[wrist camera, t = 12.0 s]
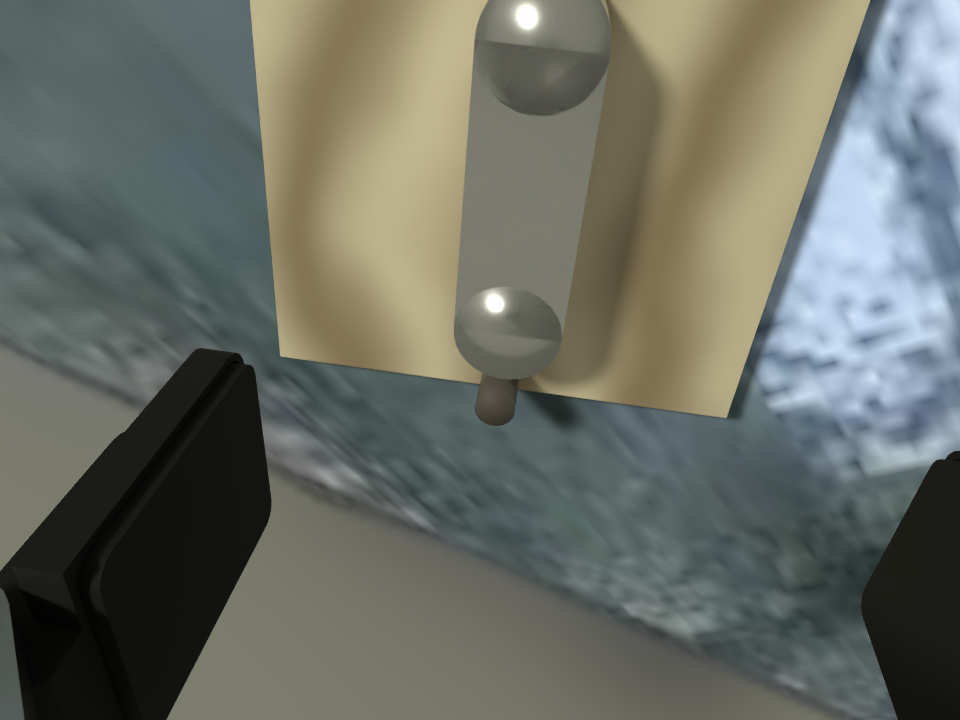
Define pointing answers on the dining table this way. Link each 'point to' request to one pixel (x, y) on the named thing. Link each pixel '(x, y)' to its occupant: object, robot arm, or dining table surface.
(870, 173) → the dining table surface
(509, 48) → the grey capsule bar
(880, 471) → the dining table surface
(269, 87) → the board
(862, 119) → the dining table surface
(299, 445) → the dining table surface
